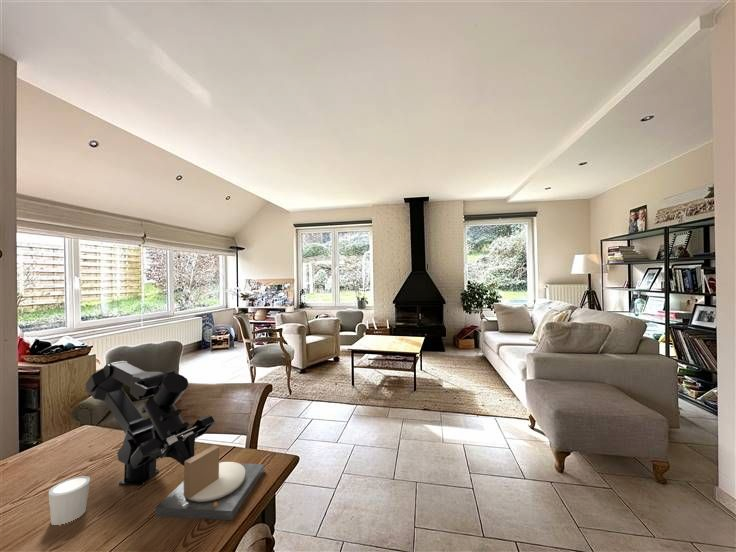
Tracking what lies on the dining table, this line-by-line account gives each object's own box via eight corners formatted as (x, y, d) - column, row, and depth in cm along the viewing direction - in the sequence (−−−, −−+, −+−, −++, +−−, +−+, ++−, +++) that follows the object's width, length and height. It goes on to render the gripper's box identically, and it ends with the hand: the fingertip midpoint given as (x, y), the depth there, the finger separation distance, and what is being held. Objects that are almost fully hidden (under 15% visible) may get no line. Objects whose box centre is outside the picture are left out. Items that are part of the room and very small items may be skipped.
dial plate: (155, 516, 68) (155, 507, 68) (203, 469, 86) (203, 461, 86) (231, 520, 67) (231, 510, 67) (263, 471, 85) (264, 463, 85)
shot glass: (62, 530, 64) (63, 497, 65) (38, 525, 66) (39, 492, 66) (96, 507, 71) (98, 477, 71) (74, 503, 72) (75, 473, 73)
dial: (219, 461, 86) (220, 429, 86) (256, 473, 81) (257, 438, 81) (166, 494, 72) (167, 455, 73) (207, 511, 67) (208, 469, 67)
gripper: (183, 419, 89) (208, 466, 84) (108, 450, 72) (135, 511, 67) (202, 396, 86) (229, 443, 81) (129, 423, 69) (158, 484, 64)
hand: (192, 468), depth 73 cm, fingers closed
